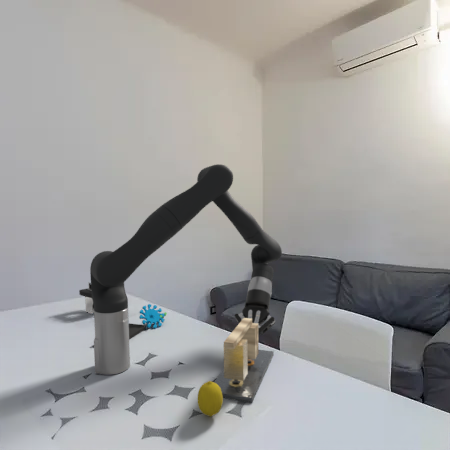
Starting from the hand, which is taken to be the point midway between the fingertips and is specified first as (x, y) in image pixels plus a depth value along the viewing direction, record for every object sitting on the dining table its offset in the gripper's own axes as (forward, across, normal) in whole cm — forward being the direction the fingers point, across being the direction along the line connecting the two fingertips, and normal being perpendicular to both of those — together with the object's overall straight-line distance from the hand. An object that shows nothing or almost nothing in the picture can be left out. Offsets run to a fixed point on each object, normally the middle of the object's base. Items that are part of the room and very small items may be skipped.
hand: (250, 346), depth 106 cm
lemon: (+23, -2, -16) cm, 29 cm away
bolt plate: (+8, 0, -2) cm, 8 cm away
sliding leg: (+9, 0, -6) cm, 11 cm away
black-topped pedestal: (-15, -73, +23) cm, 78 cm away
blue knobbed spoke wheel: (-10, -43, +18) cm, 47 cm away
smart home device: (-1, -48, +9) cm, 49 cm away
